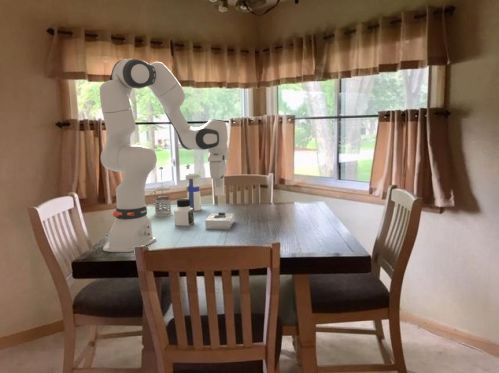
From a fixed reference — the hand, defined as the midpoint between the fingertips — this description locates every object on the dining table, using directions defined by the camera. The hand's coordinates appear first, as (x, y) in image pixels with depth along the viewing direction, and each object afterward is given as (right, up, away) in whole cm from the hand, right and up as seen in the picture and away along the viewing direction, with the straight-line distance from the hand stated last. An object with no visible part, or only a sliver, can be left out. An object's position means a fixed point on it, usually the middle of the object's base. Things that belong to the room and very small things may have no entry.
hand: (219, 186), depth 188 cm
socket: (0, -18, +3) cm, 18 cm away
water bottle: (-17, -13, +38) cm, 44 cm away
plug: (0, -4, +1) cm, 4 cm away
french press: (-32, -15, +27) cm, 44 cm away
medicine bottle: (-17, -18, +7) cm, 26 cm away
